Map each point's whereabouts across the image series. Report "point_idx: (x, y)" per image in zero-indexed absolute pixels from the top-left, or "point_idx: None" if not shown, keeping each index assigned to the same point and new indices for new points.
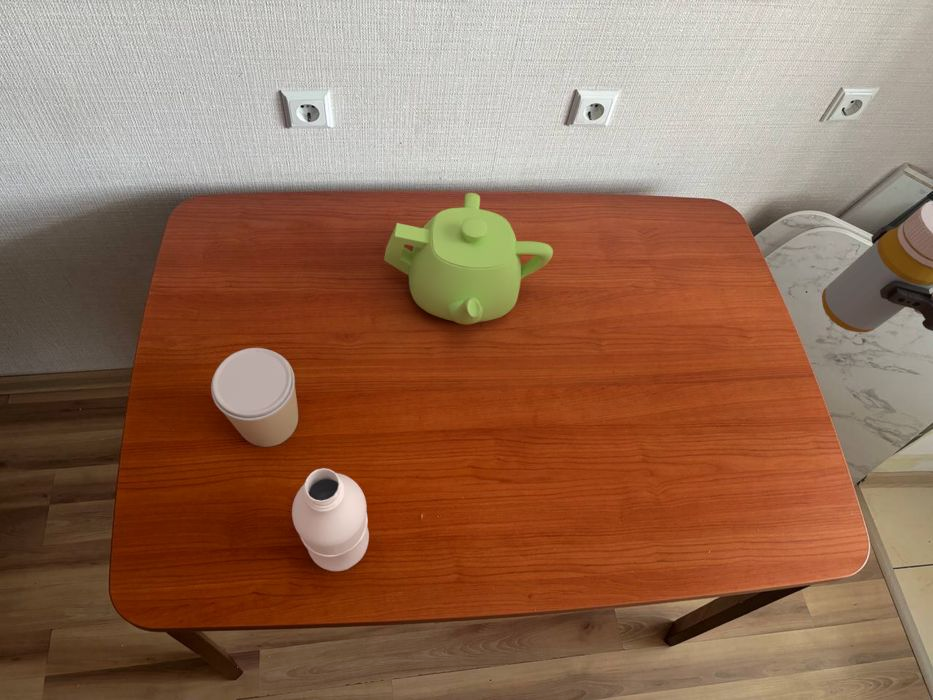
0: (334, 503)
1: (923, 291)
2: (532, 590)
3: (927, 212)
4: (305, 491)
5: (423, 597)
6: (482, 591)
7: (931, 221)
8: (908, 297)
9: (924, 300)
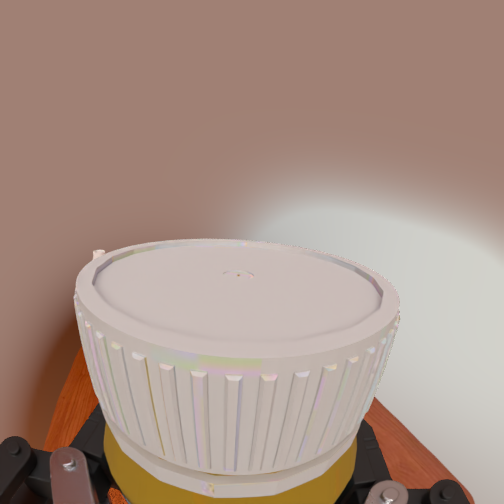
0: (93, 258)
1: (93, 435)
2: (65, 399)
3: (278, 252)
4: (98, 250)
5: (79, 363)
6: (73, 381)
7: (237, 253)
8: (93, 415)
9: (74, 443)
